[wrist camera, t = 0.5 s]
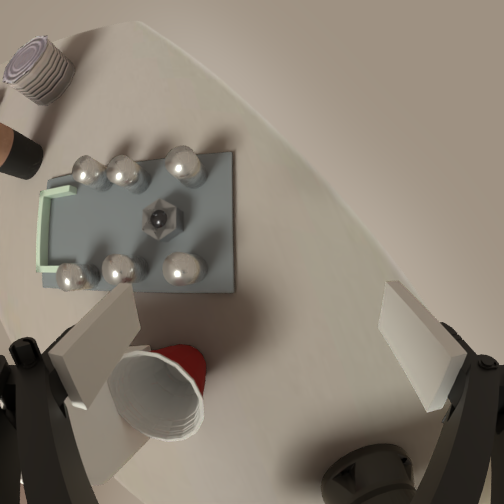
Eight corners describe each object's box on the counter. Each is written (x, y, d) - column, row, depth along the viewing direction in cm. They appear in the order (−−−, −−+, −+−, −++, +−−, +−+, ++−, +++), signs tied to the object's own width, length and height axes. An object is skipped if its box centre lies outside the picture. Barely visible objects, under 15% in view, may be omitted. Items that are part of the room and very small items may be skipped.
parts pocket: (73, 272, 37) (65, 272, 35) (44, 272, 38) (36, 272, 36) (77, 187, 38) (69, 184, 36) (47, 193, 38) (40, 191, 37)
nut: (183, 241, 36) (175, 239, 33) (151, 243, 36) (141, 241, 33) (184, 201, 36) (176, 196, 33) (152, 204, 37) (142, 199, 34)
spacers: (207, 291, 36) (194, 295, 30) (81, 288, 37) (56, 290, 31) (207, 155, 36) (196, 136, 30) (86, 172, 38) (63, 160, 32)
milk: (104, 413, 37) (0, 494, 11) (84, 348, 37) (-48, 398, 12) (169, 417, 36) (77, 535, 10) (149, 345, 37) (8, 425, 11)
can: (54, 63, 42) (25, 37, 30) (84, 61, 41) (55, 29, 29) (28, 106, 42) (-5, 84, 30) (56, 108, 41) (19, 81, 29)
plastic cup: (135, 367, 37) (91, 398, 25) (173, 310, 37) (131, 327, 25) (197, 413, 36) (171, 460, 24) (240, 359, 36) (226, 399, 24)
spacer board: (234, 292, 36) (233, 292, 35) (45, 287, 39) (42, 287, 38) (232, 154, 37) (231, 151, 36) (50, 181, 39) (47, 179, 39)
